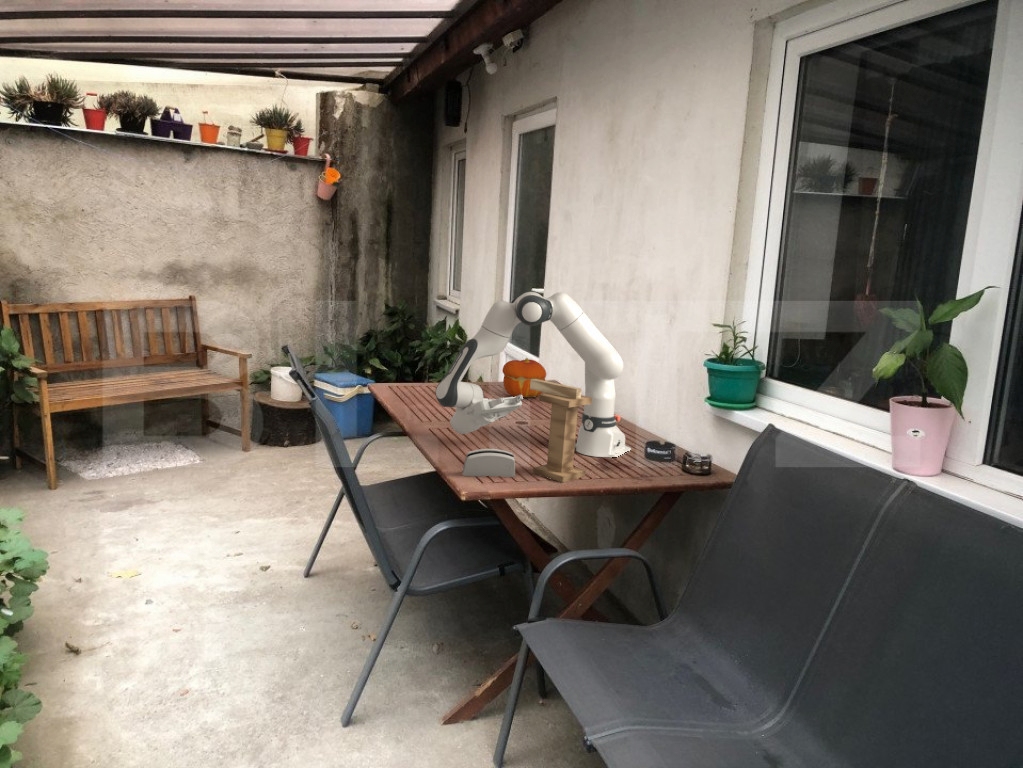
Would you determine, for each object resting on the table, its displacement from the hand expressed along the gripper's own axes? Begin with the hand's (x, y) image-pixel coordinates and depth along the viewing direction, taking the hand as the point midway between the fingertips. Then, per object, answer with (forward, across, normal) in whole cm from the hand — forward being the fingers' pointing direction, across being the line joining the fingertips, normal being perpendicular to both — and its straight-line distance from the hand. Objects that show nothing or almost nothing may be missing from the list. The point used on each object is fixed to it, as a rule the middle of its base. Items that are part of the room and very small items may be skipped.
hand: (512, 398), depth 246 cm
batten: (+18, 0, +5) cm, 19 cm away
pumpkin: (-74, +92, -18) cm, 120 cm away
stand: (+9, 0, +30) cm, 31 cm away
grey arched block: (-3, -19, +24) cm, 31 cm away
